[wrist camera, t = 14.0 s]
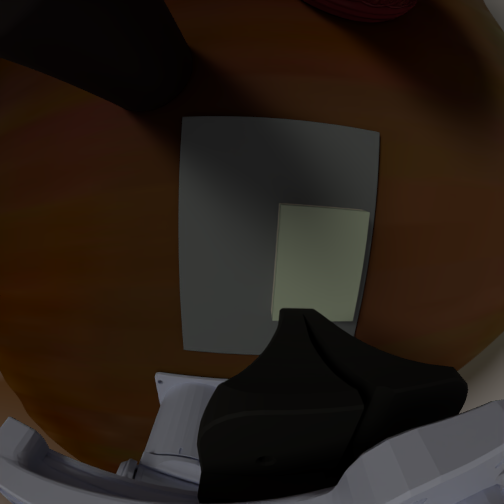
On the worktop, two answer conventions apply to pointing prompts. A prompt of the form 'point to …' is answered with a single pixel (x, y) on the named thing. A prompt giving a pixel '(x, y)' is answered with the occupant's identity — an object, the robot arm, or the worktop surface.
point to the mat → (257, 216)
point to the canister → (365, 9)
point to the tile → (319, 259)
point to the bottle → (100, 47)
